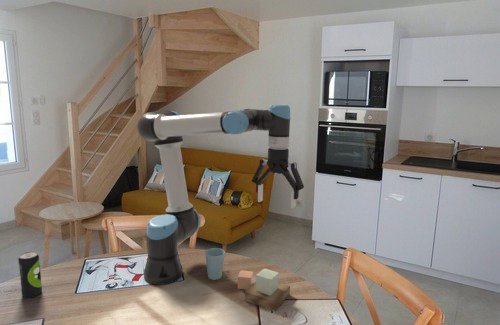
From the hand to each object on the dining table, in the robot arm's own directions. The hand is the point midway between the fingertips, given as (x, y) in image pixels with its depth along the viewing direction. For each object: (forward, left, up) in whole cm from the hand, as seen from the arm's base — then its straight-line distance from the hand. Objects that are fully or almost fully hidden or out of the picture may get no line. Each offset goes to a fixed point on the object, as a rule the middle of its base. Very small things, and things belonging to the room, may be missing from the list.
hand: (276, 204), depth 139 cm
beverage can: (-70, -53, -32) cm, 93 cm away
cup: (-22, -8, -32) cm, 40 cm away
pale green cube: (+3, -11, -28) cm, 31 cm away
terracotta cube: (-8, -8, -32) cm, 34 cm away
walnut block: (+3, -11, -32) cm, 34 cm away
